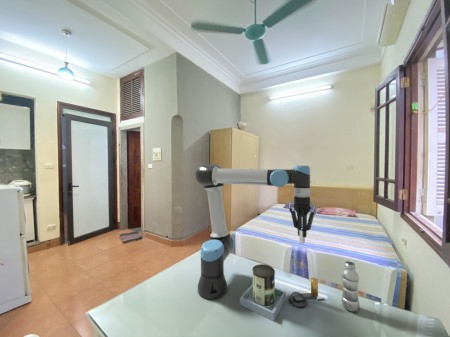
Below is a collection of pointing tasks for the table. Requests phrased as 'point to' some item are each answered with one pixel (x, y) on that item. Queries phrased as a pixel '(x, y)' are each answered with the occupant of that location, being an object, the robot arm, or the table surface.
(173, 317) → the table surface
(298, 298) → the crank
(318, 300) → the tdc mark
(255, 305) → the tray
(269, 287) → the coffee can
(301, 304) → the crank base
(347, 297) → the plastic bottle
